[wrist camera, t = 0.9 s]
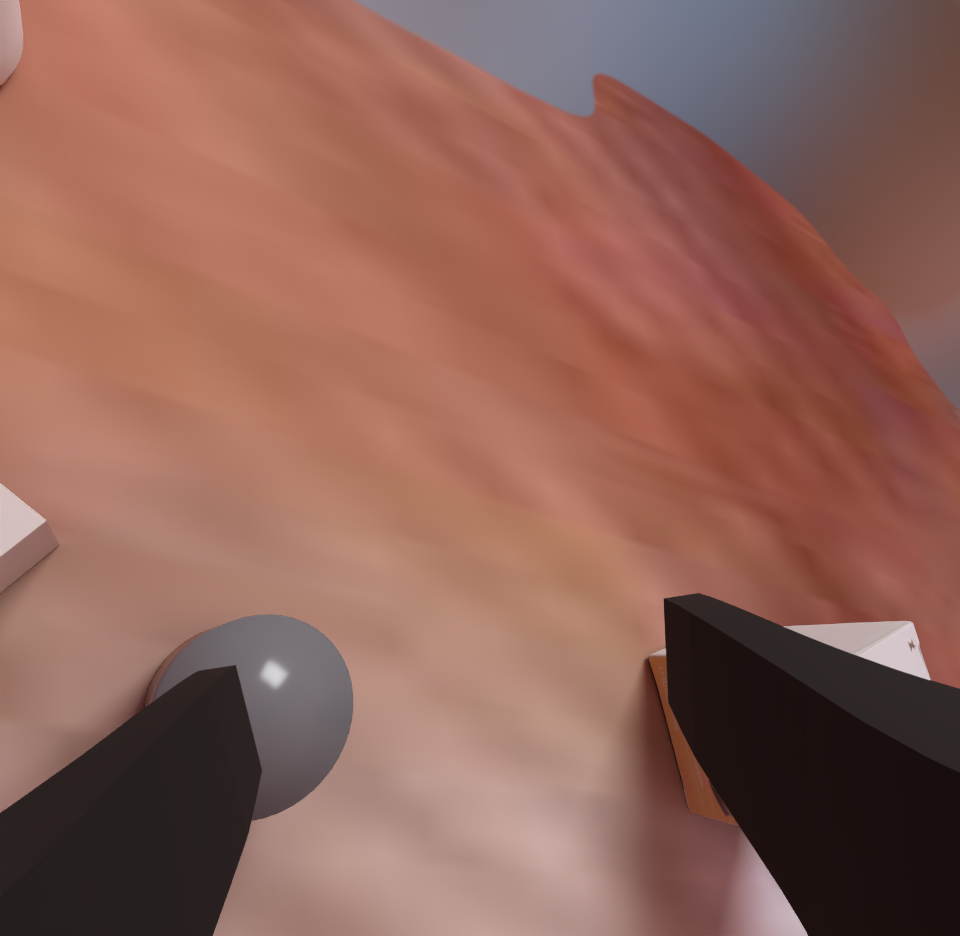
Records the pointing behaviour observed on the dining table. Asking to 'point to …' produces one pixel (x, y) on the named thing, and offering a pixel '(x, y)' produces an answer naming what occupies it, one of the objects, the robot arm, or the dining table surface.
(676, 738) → the small box
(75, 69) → the dining table surface
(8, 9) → the milk bottle
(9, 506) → the white tub
